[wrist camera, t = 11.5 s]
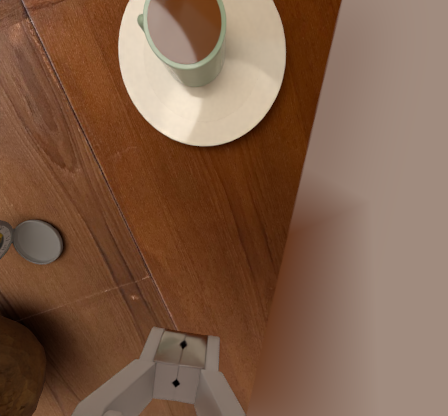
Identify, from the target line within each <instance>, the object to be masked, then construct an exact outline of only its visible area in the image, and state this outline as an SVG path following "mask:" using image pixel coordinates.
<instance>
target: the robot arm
mask: <svg viewBox="0 0 448 416" xmlns="http://www.w3.org/2000/svg"><path fill="white" fill-rule="evenodd" d="M219 344H220V338H219V337H216V336H209V335H201V334H194V333H188V332H181V331H175V330H170V329H163V328H158V327H153V328H152V330H151V332H150V334H149V337H148V339H147V341H146V344H145V346H144V349H143V351H142V353H141V356H140V358H139V360H138V359H135V360H134V361H132V362H131V363H130V364H128V365H127V366H126V367H125V368H123V369H122V370H121V371H120V372H118V373H117V374H116V375H114V376H113V377H112V378H111V379H109V380H108V381H107V382H105V383H104V384H103V385H102V386H100V387H99V388H98V389H96V390H95V391H94V392H93V393H91V394H90V395H89V396H87V397H86V398H85V399H84V400H82V401H81V402H80V403H79V404H78V405H77V407H76V408H75V410H74V412H73V413H72V415H71V416H138V415H139V414H140V413H141V412H142V411H143V409H144V408H145V407H146V406H147V405H148V404H149V402H150V401H151V400H152V398H156V399H165V400H174V401H179V402H184V403H190V404H194V407H195V410H196V413H197V416H246V414H245V413H244V411H243V409H242V407H241V406H240V404H239V402H238V400H237V398H236V397H235V395H234V393H233V391H232V390H231V388H230V386H229V384H228V382H227V381H226V379H225V377H224V375H223V373H222V372H218V369H219Z"/></svg>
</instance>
